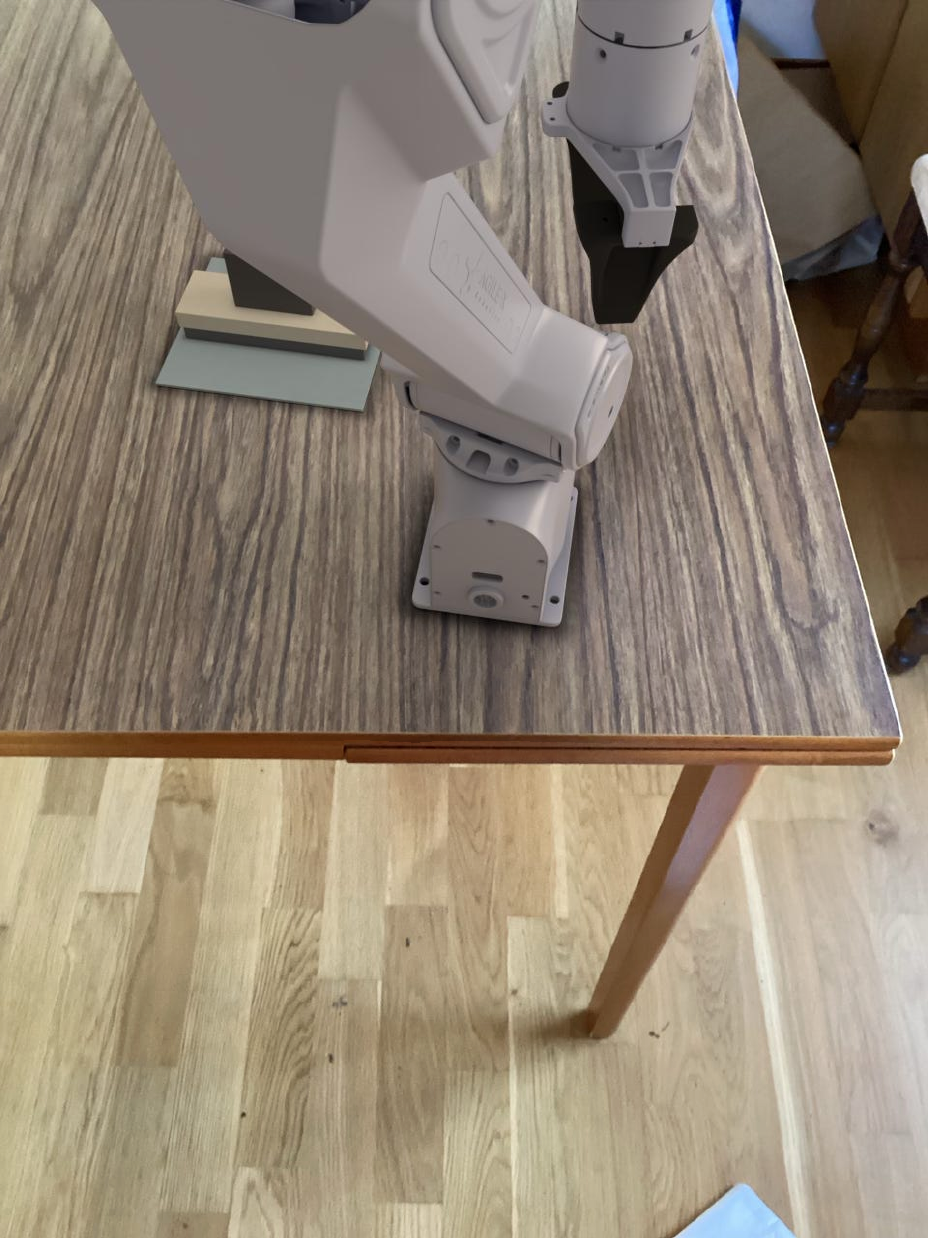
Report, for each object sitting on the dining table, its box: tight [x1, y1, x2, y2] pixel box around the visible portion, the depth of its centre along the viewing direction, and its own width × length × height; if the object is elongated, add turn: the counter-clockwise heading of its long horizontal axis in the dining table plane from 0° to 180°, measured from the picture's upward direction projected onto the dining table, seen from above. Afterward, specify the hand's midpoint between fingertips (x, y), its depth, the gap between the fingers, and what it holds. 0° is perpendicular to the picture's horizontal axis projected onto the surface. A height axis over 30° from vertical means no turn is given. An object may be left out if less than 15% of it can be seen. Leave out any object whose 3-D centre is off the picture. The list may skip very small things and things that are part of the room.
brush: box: [174, 248, 370, 360], centre depth 63 cm, size 4×12×6 cm, turn 81°
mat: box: [155, 256, 381, 413], centre depth 66 cm, size 12×13×1 cm
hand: (604, 268), depth 55 cm, fingers open, 7 cm apart
